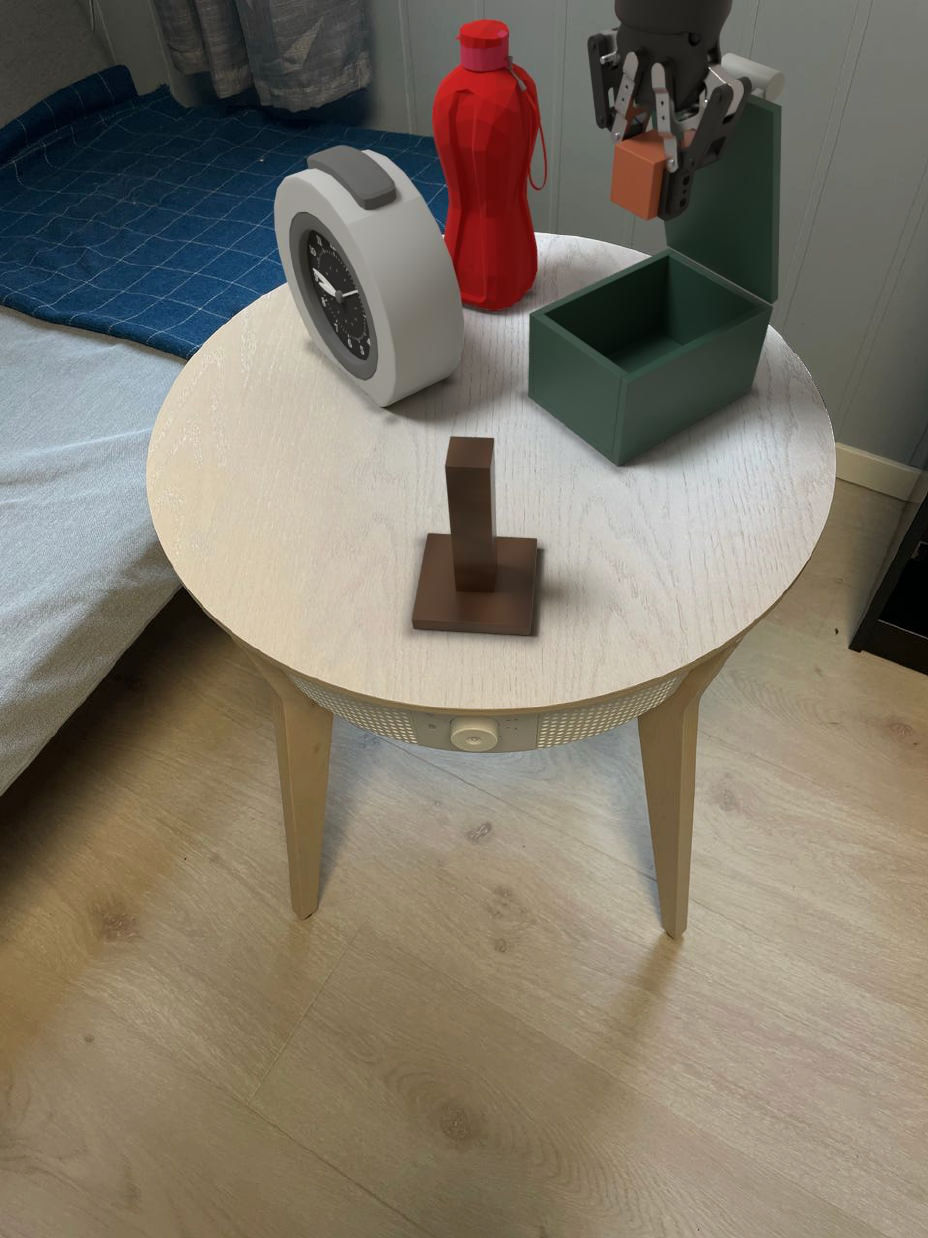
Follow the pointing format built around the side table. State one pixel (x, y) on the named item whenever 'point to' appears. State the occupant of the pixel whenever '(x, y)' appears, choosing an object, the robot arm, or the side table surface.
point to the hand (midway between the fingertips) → (647, 203)
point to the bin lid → (739, 192)
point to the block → (639, 173)
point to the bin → (645, 353)
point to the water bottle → (488, 167)
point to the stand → (475, 555)
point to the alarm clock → (370, 272)
